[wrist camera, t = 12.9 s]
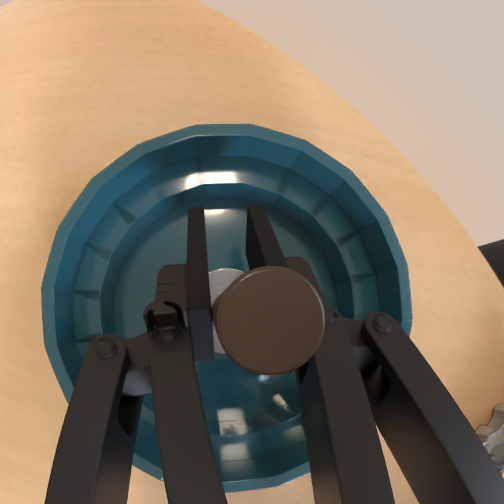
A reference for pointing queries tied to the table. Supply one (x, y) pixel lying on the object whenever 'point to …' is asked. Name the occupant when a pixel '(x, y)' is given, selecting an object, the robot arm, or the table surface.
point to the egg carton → (494, 437)
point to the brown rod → (265, 318)
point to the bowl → (219, 256)
